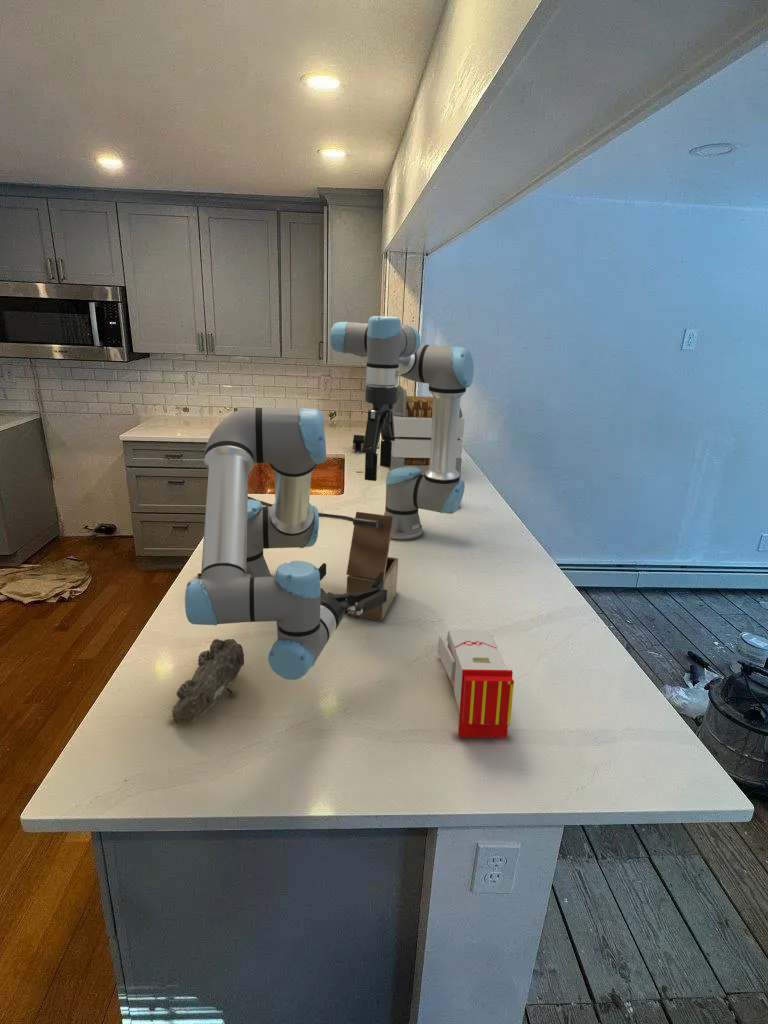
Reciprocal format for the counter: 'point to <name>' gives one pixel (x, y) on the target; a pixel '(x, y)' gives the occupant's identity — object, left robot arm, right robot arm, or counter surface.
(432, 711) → the counter surface
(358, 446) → the figurine character
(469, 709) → the toy
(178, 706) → the fossil
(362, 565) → the lid
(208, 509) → the left robot arm
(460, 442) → the white wooden crate
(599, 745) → the counter surface
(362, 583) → the chest
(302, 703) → the counter surface
